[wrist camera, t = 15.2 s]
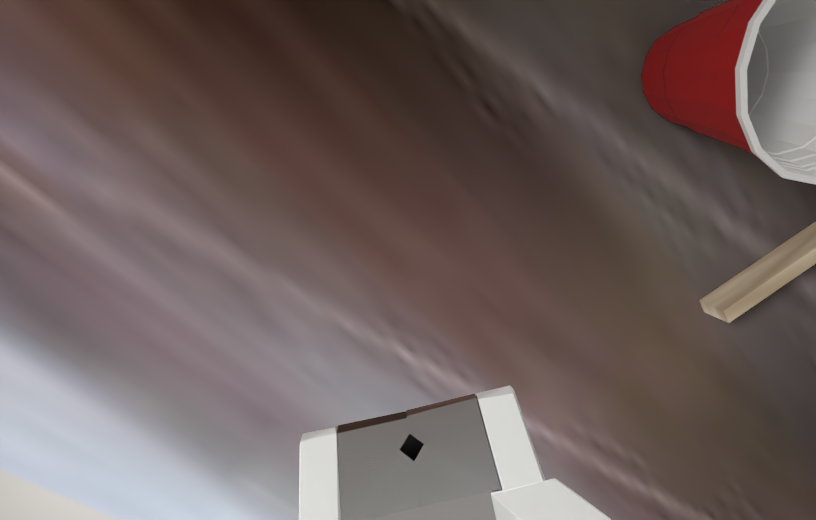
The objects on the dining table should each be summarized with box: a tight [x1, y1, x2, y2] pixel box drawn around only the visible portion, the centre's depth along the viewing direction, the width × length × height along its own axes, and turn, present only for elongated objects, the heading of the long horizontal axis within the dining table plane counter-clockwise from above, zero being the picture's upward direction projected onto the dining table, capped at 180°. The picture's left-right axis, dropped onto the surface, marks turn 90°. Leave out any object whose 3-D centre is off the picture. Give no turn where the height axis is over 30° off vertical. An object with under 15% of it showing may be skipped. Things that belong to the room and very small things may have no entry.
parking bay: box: [699, 221, 816, 323], centre depth 43 cm, size 31×18×2 cm, turn 31°
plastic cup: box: [642, 0, 816, 185], centre depth 38 cm, size 11×11×12 cm
